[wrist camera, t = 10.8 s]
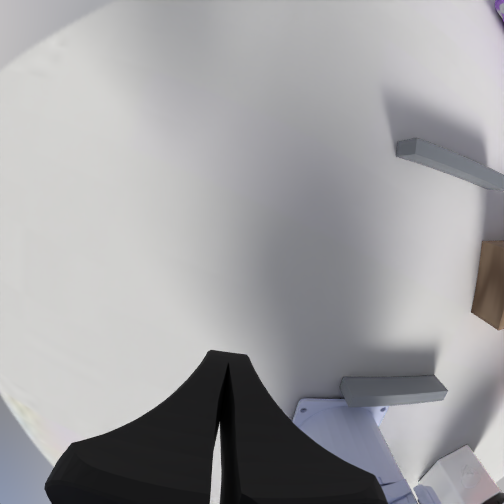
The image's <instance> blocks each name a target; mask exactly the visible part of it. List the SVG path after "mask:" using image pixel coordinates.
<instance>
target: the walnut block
mask: <svg viewBox="0 0 504 504" xmlns="http://www.w3.org/2000/svg"><path fill="white" fill-rule="evenodd" d="M471 312H472V313H473V314H475V315H476V316H478V317H479V318H481V319H482V320H484V321H485V322H487V323H488V324H490V325H491V326H493V327H494V328H495V329H497V330H501V329H504V241H482V247H481V255H480V263H479V270H478V277H477V283H476V289H475V295H474V300H473V305H472V310H471Z"/></svg>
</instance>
